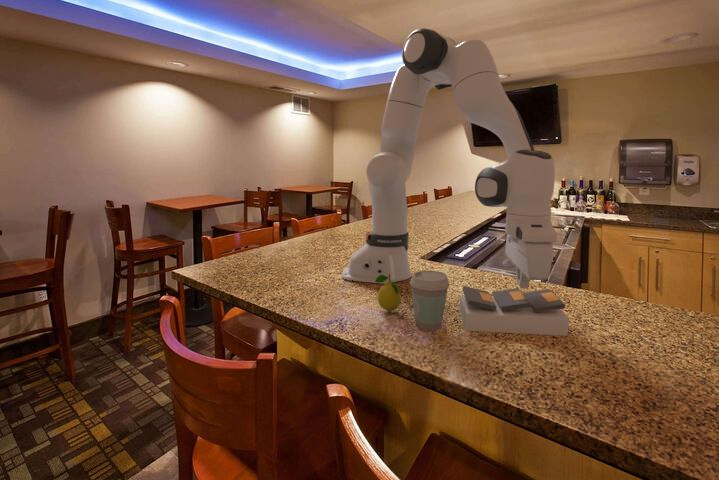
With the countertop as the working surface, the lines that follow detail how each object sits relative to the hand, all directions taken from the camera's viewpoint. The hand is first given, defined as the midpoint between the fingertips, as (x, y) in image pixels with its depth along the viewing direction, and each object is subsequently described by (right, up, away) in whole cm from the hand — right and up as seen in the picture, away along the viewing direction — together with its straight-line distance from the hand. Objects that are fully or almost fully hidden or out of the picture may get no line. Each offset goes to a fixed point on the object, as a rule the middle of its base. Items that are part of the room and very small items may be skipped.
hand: (522, 286), depth 83 cm
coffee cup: (-21, -9, 0) cm, 23 cm away
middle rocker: (-2, -3, +1) cm, 4 cm away
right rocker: (+5, -3, 0) cm, 6 cm away
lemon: (-30, -8, +8) cm, 32 cm away
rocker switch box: (-2, -8, +2) cm, 9 cm away
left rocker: (-9, -3, +2) cm, 10 cm away
